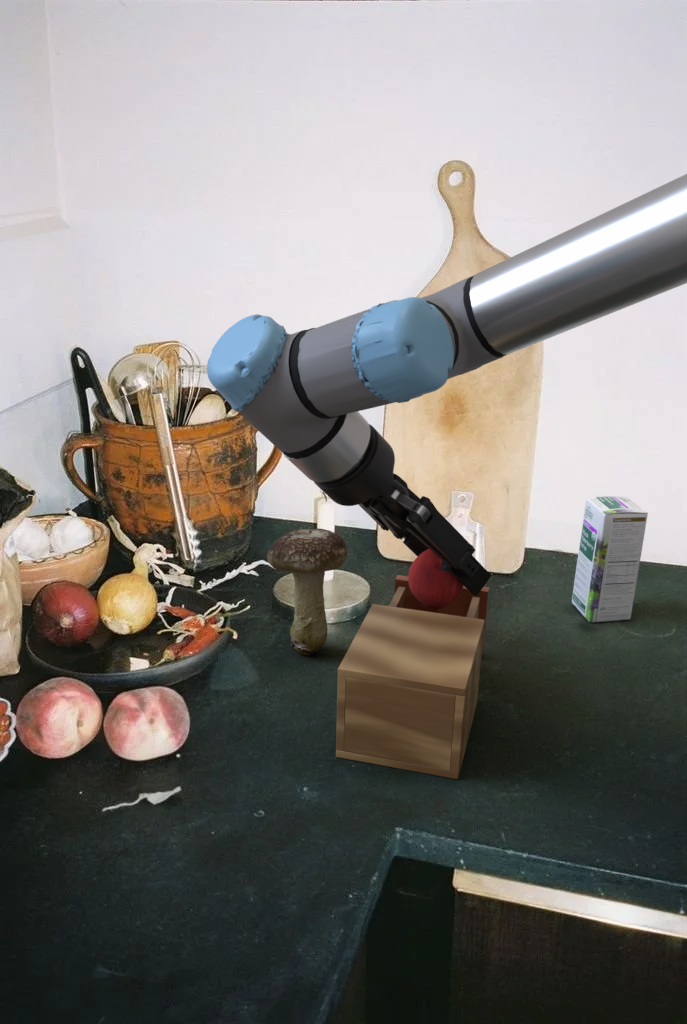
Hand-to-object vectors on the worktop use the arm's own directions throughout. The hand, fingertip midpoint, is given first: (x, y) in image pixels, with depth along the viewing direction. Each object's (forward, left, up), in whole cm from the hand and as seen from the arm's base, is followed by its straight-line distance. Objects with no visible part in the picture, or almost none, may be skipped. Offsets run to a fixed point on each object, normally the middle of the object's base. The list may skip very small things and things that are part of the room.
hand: (461, 573), depth 101 cm
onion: (+2, +3, -4) cm, 5 cm away
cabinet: (+2, +14, -11) cm, 18 cm away
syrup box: (-16, -18, -11) cm, 27 cm away
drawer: (+2, +1, -10) cm, 11 cm away
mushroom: (+16, +3, -11) cm, 20 cm away
